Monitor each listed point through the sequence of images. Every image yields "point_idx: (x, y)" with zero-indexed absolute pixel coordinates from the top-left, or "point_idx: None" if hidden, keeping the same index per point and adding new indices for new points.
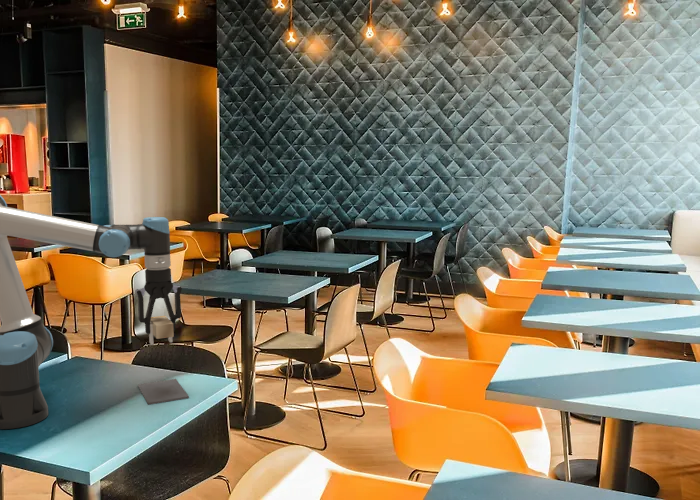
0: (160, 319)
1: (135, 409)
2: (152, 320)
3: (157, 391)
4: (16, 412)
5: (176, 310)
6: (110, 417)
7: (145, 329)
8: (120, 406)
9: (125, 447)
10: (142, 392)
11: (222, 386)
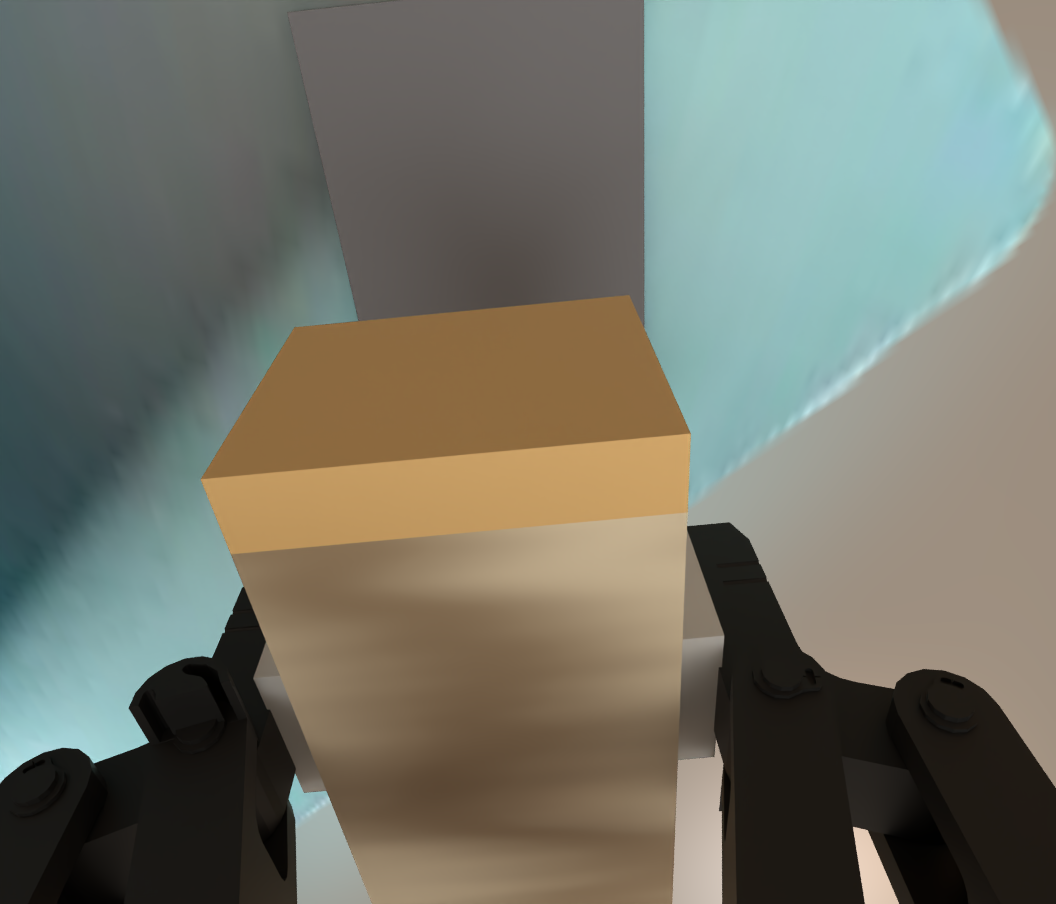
0: (509, 740)
1: None
2: (335, 760)
3: (455, 273)
4: None
5: (980, 864)
6: (196, 549)
7: (235, 630)
8: (221, 419)
9: (317, 794)
10: (344, 251)
11: (919, 290)
